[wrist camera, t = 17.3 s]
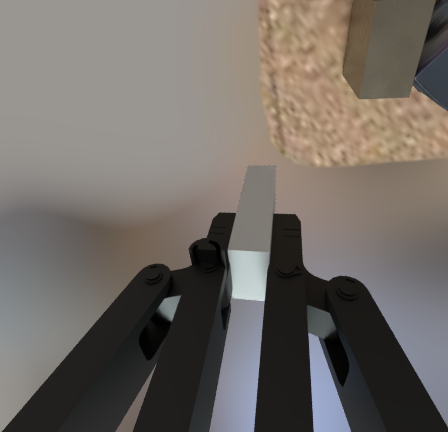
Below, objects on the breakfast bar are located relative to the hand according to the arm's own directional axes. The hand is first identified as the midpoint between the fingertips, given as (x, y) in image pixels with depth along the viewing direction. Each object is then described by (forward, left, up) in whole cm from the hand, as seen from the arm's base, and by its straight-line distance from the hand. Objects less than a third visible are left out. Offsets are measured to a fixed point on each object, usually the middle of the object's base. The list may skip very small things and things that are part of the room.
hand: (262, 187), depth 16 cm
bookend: (-4, +10, -24) cm, 26 cm away
